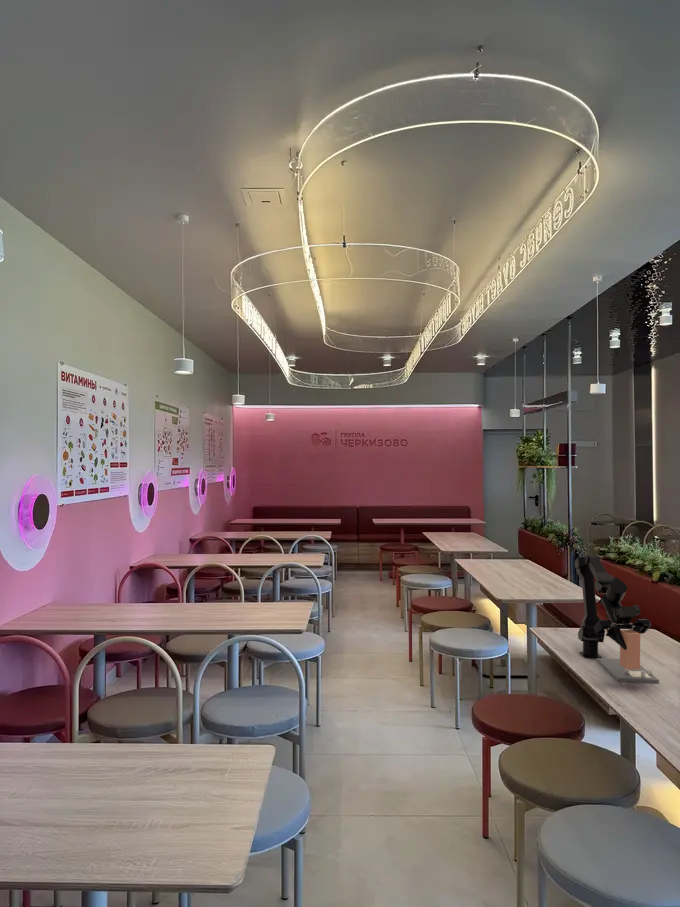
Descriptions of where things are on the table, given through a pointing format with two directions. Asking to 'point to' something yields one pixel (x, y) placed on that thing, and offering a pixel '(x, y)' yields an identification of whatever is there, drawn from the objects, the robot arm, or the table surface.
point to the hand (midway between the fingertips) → (632, 649)
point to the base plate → (627, 672)
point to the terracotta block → (630, 650)
